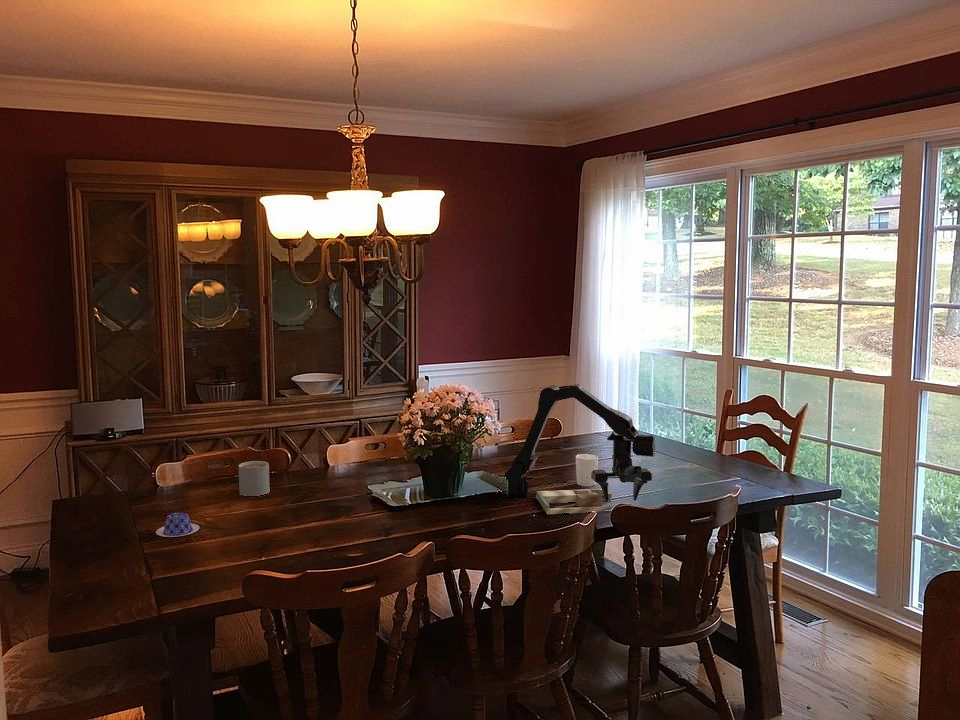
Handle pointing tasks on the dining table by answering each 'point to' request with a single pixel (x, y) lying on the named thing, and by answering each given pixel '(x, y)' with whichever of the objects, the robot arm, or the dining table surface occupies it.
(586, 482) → the white cup
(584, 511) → the trap lane
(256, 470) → the coffee mug
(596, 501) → the walnut block
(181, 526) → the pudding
